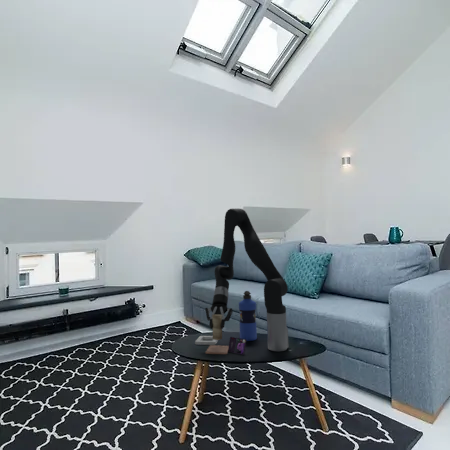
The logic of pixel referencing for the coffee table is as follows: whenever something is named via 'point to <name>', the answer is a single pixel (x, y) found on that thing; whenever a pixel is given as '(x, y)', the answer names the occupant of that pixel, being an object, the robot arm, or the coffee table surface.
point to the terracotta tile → (217, 349)
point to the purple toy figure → (239, 347)
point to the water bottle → (247, 318)
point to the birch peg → (217, 326)
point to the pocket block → (200, 342)
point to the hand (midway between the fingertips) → (216, 327)
